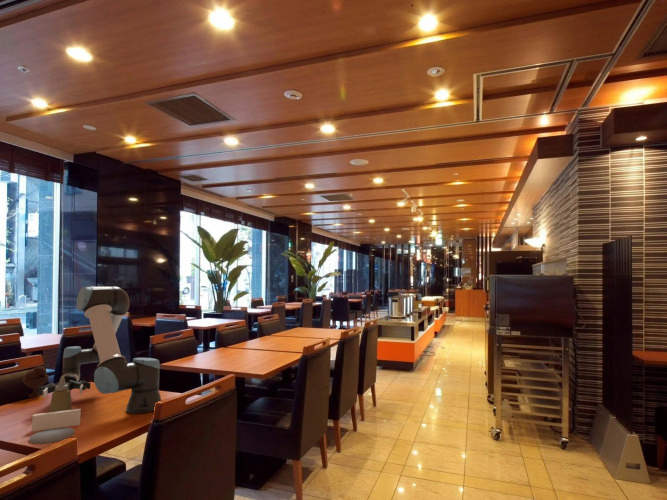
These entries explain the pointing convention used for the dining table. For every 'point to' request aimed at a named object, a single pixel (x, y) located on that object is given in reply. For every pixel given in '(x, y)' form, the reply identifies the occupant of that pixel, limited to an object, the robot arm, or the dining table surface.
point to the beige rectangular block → (56, 419)
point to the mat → (51, 435)
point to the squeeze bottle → (61, 397)
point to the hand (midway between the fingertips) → (62, 392)
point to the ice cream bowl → (35, 379)
